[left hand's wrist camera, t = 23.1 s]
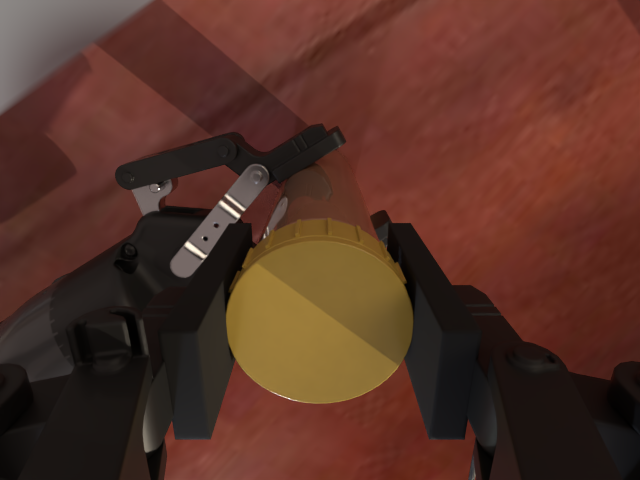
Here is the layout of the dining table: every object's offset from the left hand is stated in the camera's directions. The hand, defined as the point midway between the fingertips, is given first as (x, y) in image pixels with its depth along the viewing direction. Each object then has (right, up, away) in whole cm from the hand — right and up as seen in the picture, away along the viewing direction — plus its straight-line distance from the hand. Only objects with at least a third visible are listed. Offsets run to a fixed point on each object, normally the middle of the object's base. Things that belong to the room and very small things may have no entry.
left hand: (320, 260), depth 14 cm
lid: (0, -1, -4) cm, 4 cm away
